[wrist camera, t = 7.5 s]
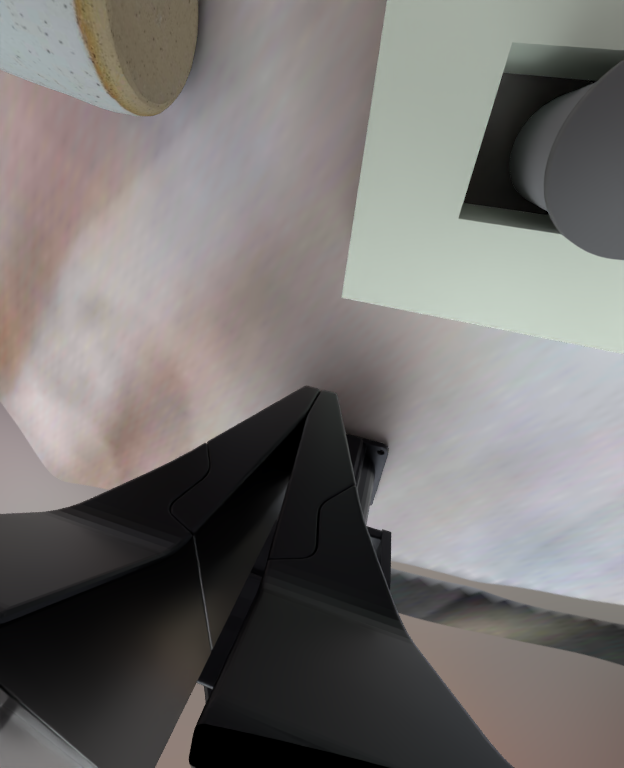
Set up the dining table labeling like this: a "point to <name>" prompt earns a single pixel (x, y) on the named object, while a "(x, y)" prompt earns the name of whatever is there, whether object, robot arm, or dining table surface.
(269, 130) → the dining table surface
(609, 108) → the graphite plug
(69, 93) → the ceramic mug
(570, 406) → the dining table surface
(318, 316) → the dining table surface
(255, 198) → the dining table surface
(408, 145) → the block
